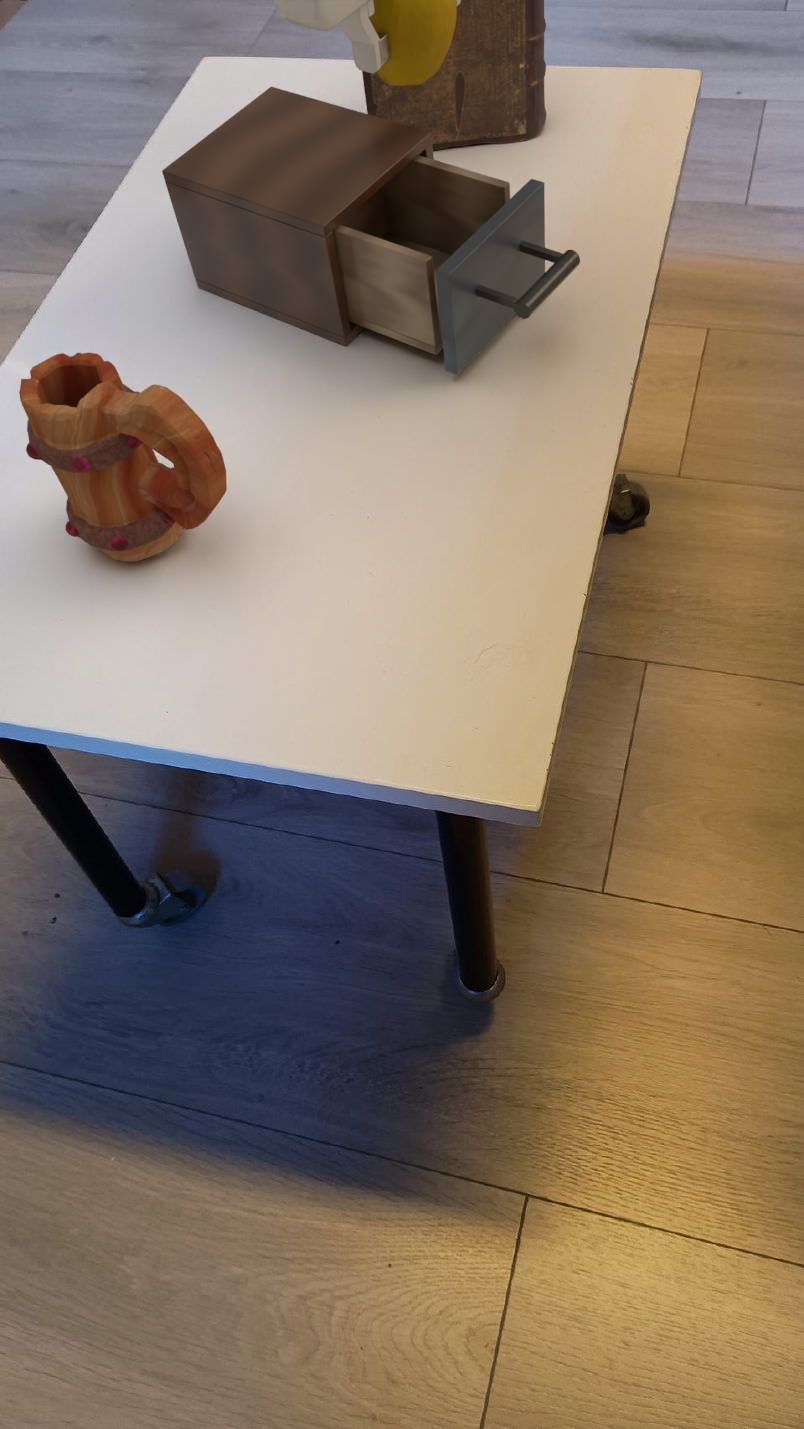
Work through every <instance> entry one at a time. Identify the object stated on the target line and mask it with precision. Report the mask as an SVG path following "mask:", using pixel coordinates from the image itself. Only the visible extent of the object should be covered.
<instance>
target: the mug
mask: <svg viewBox="0 0 804 1429" xmlns="http://www.w3.org/2000/svg"><path fill="white" fill-rule="evenodd" d="M29 374H30V378H21V379H20V386H19V392H18V393H19V401H20V404H21V406H22V408H23V410H24V413H25V414H26V416H27V422H26V424H27V426H26V431H27V438H28V443H27V445H26V447H25V452H26V454H27V456H28V458H31V459H33V460H36V461H37V460H38V461H42V462H44V463H45V464H46V465H48V466H50V467H51V469H52V471H53V472H54V475H55V476H56V478H57V480H58V482H59V483H60V485H61V487H62V489H63V490H64V492H65V494H66V496H67V498H66V506H65V511H66V514H67V518H68V521H67V522H66V524H65V532H66V533H67V534H68V535H69V536H71V537H74V538H79V539H81V540H82V541H83V542H85V543H87V544H88V545H90V546H91V547H95V548H97V549H98V550H100V552H103V553H104V554H105V555H106V556H108V557H109V558H111V559H113V560H114V561H115V560H116V561H122V562H138V561H143V560H145V559H148V558H150V557H152V556H155V555H159V554H160V553H162V552H164V551H166V550H168V549H170V548H171V547H172V546H173V544H175V543H176V542H177V541H178V540H179V539H180V537H181V535H182V533H183V531H184V530H185V531H189V530H193V529H196V528H197V527H199V526H201V525H202V524H203V523H204V522H206V520H207V519H208V518H209V517H210V515H211V514H212V513H213V511H214V510H215V509H216V507H217V506H218V505H219V503H220V502H221V500H222V498H223V497H224V496H225V494H226V493H227V490H228V489H227V485H228V484H227V468H226V465H225V460H224V456H223V454H222V451H221V449H220V448H219V446H218V444H217V442H216V440H215V438H214V436H213V434H212V433H211V431H210V430H209V428H208V426H207V424H206V423H205V422H204V420H202V418H201V417H200V416H199V415H198V413H197V412H195V411H194V410H193V408H192V407H191V406H190V405H189V404H188V403H187V402H186V401H185V400H184V399H183V398H182V397H181V396H180V395H179V394H177V393H176V392H174V391H173V390H171V389H170V388H168V387H167V386H164V385H160V384H151V385H149V386H148V387H147V388H145V389H144V390H142V391H141V392H140V391H137V390H136V391H134V390H133V389H131V388H130V387H129V386H127V385H126V384H124V383H123V381H122V379H121V377H120V374H119V372H118V371H117V368H116V366H115V365H114V364H113V363H112V362H110V361H109V360H104V359H103V356H101V355H100V354H98V353H94V352H84V353H82V352H76V353H75V354H74V355H73V356H70V355H68V354H66V353H64V352H61V353H57V354H55V355H52V356H50V357H49V358H46V359H45V360H43V361H41V362H39V363H37V364H36V365H34V366H32V367H31V369H30V371H29ZM155 452H156V453H157V454H159V455H160V456H162V457H163V458H165V459H166V460H168V461H169V462H170V463H172V465H173V467H169V466H167V465H165V464H164V463H162V462H159V460H158V458H157V456H156V453H155Z"/></svg>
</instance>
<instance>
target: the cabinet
mask: <svg viewBox="0 0 804 1429" xmlns="http://www.w3.org/2000/svg"><path fill="white" fill-rule="evenodd" d="M418 155H419V156H423V157H426V158H429V159H433V160H435V158H434V149H433V146H432V137H431V132H428V131H424V130H421V129H417V128H414V127H410V126H407V125H403V124H400V123H396V122H393V121H389V120H386V119H382V118H379V117H375V116H372V115H368V113H366V112H365V113H364V112H361V111H357V110H355V109H352V108H351V109H350V108H348V107H345V106H340V105H337V104H333V103H331V102H328V101H327V102H326V101H323V100H319V99H316V98H312V97H309V96H306V95H302V94H299V93H295V92H292V91H288V90H285V89H282V88H278V87H274V86H270V87H268V88H267V89H266V90H265V91H263V92H262V93H260V94H259V95H258V96H257V97H255V98H254V99H253V100H251V101H250V102H248V104H246V105H245V106H244V107H243V108H241V109H240V110H238V111H237V112H236V113H235V114H233V115H232V116H231V117H229V118H227V120H226V121H224V122H223V123H222V124H220V125H219V126H218V127H217V128H215V129H214V130H213V131H212V132H210V133H209V134H208V135H206V136H205V137H203V138H202V139H201V140H200V141H198V142H197V143H196V144H195V145H194V146H192V147H190V149H189V148H188V150H187V151H185V152H184V153H183V154H182V155H180V156H179V157H178V158H176V159H175V160H174V161H172V162H171V163H170V164H169V165H167V166H166V167H165V168H163V169H162V170H161V174H162V175H163V179H164V183H165V187H166V189H167V192H168V196H169V200H170V202H171V206H172V208H173V212H174V215H175V219H176V222H177V224H178V228H179V232H180V234H181V238H182V241H183V244H184V247H185V251H186V254H187V257H188V260H189V264H190V267H191V271H192V273H193V277H194V279H195V283H196V286H197V288H199V289H202V290H204V291H206V292H208V293H212V294H214V295H217V296H219V297H221V298H224V299H227V300H229V301H231V302H234V303H236V304H239V305H241V306H244V307H247V308H249V309H251V310H254V311H257V312H259V313H262V314H265V315H267V316H269V317H271V318H274V319H276V320H279V321H281V322H284V323H286V324H289V325H292V326H294V327H296V328H300V329H302V330H304V331H306V332H309V333H311V334H314V335H317V336H319V337H321V338H324V339H327V340H329V341H332V342H335V343H337V344H340V345H342V346H344V347H347V346H348V345H349V344H350V343H351V342H352V341H354V340H355V338H356V337H357V336H358V335H359V334H361V333H362V332H363V331H364V330H365V329H366V328H365V327H362V326H360V325H357V324H355V323H352V322H349V319H348V314H347V308H346V303H345V297H344V292H343V287H342V281H341V276H340V270H339V265H338V259H337V254H336V248H335V243H334V238H333V232H332V231H333V230H334V229H335V228H336V227H337V226H338V225H339V224H341V223H342V222H343V221H344V220H345V219H346V218H347V217H349V216H350V215H351V214H352V213H353V212H354V211H355V210H357V209H358V208H359V207H360V206H361V205H362V204H363V203H364V202H366V201H367V200H368V199H369V198H370V197H371V196H372V195H374V194H375V193H376V192H377V191H378V190H379V189H380V188H382V187H383V186H384V185H385V184H386V183H387V182H388V181H389V180H391V179H392V178H393V177H394V176H395V175H396V174H397V173H399V172H400V171H401V170H402V169H403V168H404V167H405V166H407V165H408V164H409V163H410V162H411V161H412V160H413V159H414V158H416V157H417V156H418Z"/></svg>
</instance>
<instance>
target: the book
mask: <svg viewBox="0 0 804 1429" xmlns="http://www.w3.org/2000/svg"><path fill="white" fill-rule="evenodd" d="M456 11H457V14H456V25H455V30H454V33H453V37H452V41H451V45H450V47H449V50H448V52H447V54H446V56H445V59H444V61H443V63H442V65H441V67H440V68H439V70H438V71H437V73H436V74H435V75H433V76H432V77H430V78H429V79H428V80H426V81H425V82H424V83H422V84H420V85H404V86H396V85H390V84H387V83H385V82H384V81H383V80H382V79H381V78H380V76H379V75H378V73H377V72H375V73H369V72H365V71H361V73H362V74H361V75H362V82H363V90H364V97H365V98H364V99H365V105H366V112H367V113H366V114H368V115H372V116H375V117H379V118H382V119H386V120H389V121H393V122H396V123H400V124H403V125H407V126H410V127H414V128H417V129H421V130H424V131H428V132H431V137H432V146H433V150H441V149H445V148H451V147H463V146H470V145H478V144H508V143H517V142H522V141H528V140H530V139H531V138H533V136H537V135H538V134H539V133H540V132H541V131H542V130H543V129H544V127H545V124H546V121H547V110H546V103H545V77H546V72H547V71H546V70H547V63H546V61H545V32H546V28H547V22H546V19H545V0H461V2H460V4H459V5H458V6H456Z"/></svg>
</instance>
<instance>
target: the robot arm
mask: <svg viewBox="0 0 804 1429" xmlns="http://www.w3.org/2000/svg"><path fill="white" fill-rule="evenodd" d="M460 2H461V0H456V6H458V5H459V4H460ZM273 4H274V8H275V9H276V11H277V12H278V14H280V15H281V16H282V17H283V18H284V20H285V21H287V23H289V24H292V25H295V26H299V27H302V28H306V29H310V30H314V31H321V32H329V31H331V30H333V29H334V28H335V27H337V26H338V25H339V27H340V28H341V30H342V31H343V33H344V35H345V36H346V37H347V39H348V40H349V41H350V43H351V48H352V56H353V62H354V65H355V67H356V68H357V69H358V70H359V71H361V72H362V71H365V72H369V73H375V72H376V71H378V70H379V69H380V68H382V67H383V66H384V65H385V64H386V63H387V62H389V60H390V52H389V51H388V47H389V42H388V34H385V33H381V32H376V31H375V29H374V27H373V25H372V23H371V22H370V20H369V16H372V15H373V14H374V2H373V0H273Z"/></svg>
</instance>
